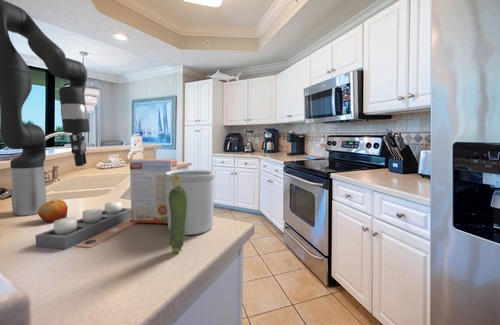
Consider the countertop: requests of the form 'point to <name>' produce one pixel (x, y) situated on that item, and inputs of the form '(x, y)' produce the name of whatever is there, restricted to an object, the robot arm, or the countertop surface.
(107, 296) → the countertop surface
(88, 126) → the robot arm
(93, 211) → the middle button
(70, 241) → the button board
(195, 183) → the utensil holder
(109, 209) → the button
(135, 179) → the cracker box
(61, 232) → the button
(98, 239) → the pattern card
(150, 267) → the countertop surface
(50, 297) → the countertop surface
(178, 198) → the vegetable
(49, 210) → the fruit
